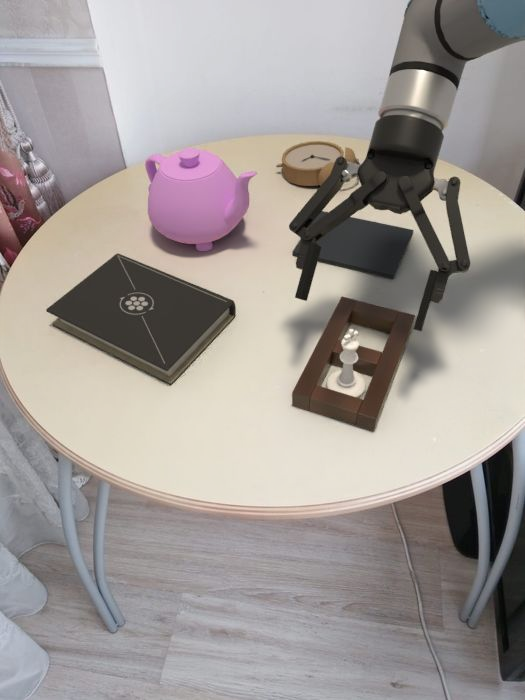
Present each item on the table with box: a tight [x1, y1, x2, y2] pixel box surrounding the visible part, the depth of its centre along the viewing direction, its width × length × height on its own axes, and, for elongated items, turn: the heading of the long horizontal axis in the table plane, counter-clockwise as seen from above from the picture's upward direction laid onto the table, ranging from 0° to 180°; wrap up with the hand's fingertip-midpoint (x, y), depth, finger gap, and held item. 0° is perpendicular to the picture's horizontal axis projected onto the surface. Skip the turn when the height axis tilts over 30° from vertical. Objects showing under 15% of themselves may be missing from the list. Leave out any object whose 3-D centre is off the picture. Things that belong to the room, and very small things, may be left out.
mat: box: [292, 210, 414, 280], centre depth 89 cm, size 16×12×1 cm
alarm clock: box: [275, 140, 362, 187], centre depth 102 cm, size 11×5×15 cm
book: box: [45, 253, 237, 386], centre depth 78 cm, size 22×15×3 cm
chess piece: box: [325, 328, 367, 399], centre depth 66 cm, size 5×5×10 cm
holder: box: [291, 295, 416, 433], centre depth 71 cm, size 10×18×2 cm, turn 156°
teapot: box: [144, 147, 258, 252], centre depth 88 cm, size 22×16×14 cm
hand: (357, 314), depth 63 cm, fingers open, 13 cm apart
